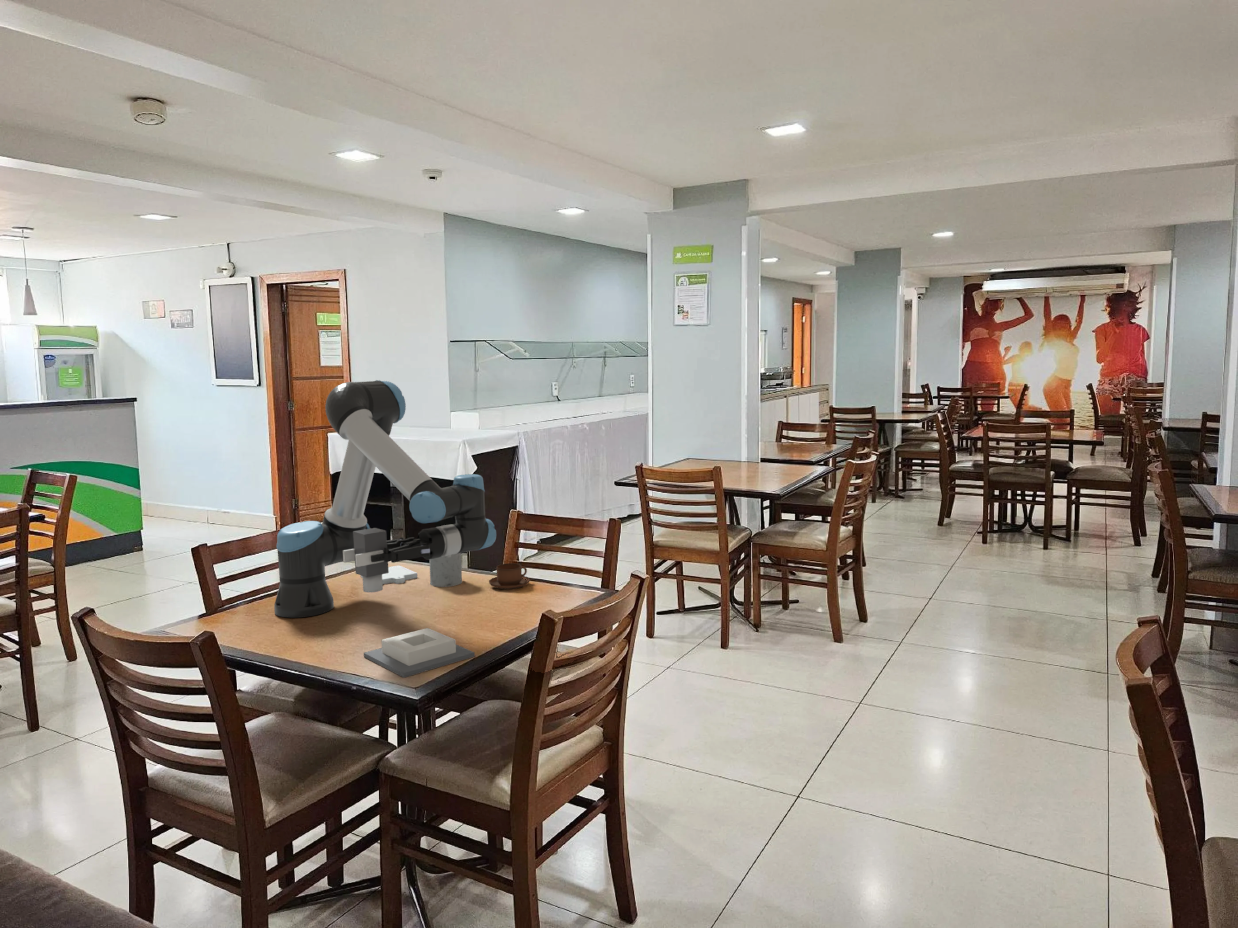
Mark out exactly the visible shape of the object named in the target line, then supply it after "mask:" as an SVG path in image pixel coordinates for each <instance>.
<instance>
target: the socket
mask: <svg viewBox="0 0 1238 928" xmlns="http://www.w3.org/2000/svg"><path fill="white" fill-rule="evenodd" d="M456 640H457V639H455V638H452V637H450V636H448V635H445V634H443V633H441V632H439V631H436V630H433V629H431V628H428V627H426V628H422V629H418V630H415V631H411V632H406V633H403V634H399V635H396V636H392V637H391V636H390V637H387V638H384V639H381V648H377V649H373V650H369V651H365V652H363V658H365V659H367V660H369V661H371V662H372V663H375V664H377V665H378V666H381V667H383V668H384V669H386V670H388V671H390V672H392V673H394V674H396V675H397V676H399V677H401V678H407V677H411V676H414V675H417V674H420V673H424V672H427V671H431V670H434V669H437V668H442V667H444V666H447V665H451V664H454V663H457V662H460V661H464V660H467V659H471V658H474V657H476V656H475V653H476V652H475V651H473V650H470V649H468V648H466V647H463V646H461V645H459V644H457V641H456Z"/></svg>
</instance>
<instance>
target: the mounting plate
mask: <svg viewBox="0 0 1238 928" xmlns="http://www.w3.org/2000/svg"><path fill="white" fill-rule="evenodd" d="M388 571H389V573H386V574H382V583H383V585H386V584H393V583H394V584H397V585H398V584H404V583H405V582H406V580H414V579H418V572H416V571H413V570H411V569H410V568H406V567H404V566H402V565H394V566H393V565H392V566H388ZM359 576H360V578H362V579H363V577H362V576H361V575H359Z"/></svg>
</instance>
